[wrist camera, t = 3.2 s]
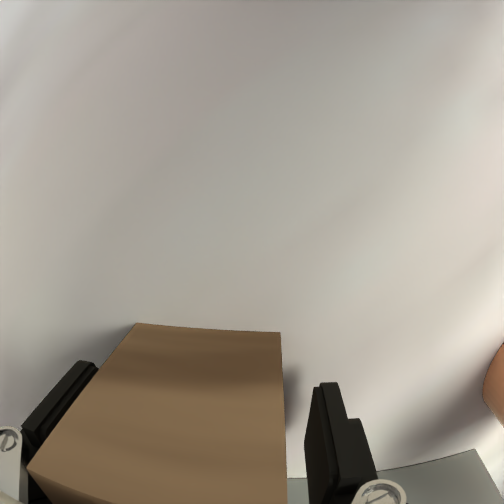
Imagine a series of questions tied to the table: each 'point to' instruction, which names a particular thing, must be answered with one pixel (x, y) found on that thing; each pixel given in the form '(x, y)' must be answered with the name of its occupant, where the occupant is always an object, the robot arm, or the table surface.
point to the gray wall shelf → (430, 482)
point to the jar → (495, 386)
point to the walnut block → (174, 423)
